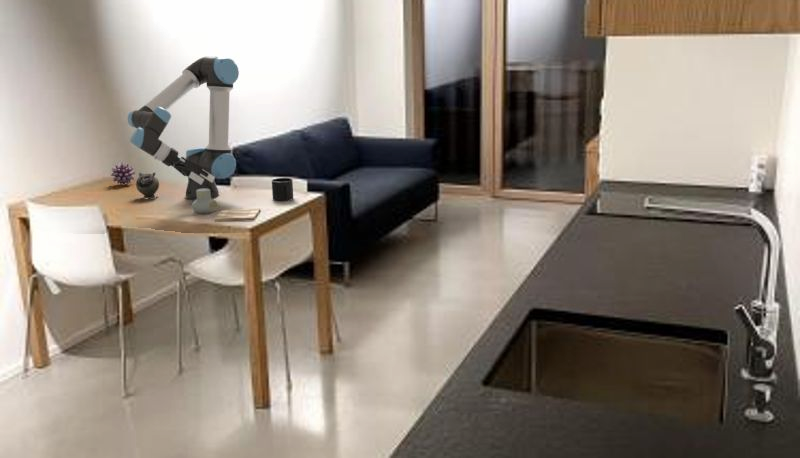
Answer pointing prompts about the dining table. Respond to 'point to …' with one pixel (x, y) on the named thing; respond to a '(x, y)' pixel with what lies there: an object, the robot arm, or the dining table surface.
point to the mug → (282, 189)
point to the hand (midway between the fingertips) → (208, 181)
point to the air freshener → (204, 202)
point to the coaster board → (237, 214)
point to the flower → (122, 173)
